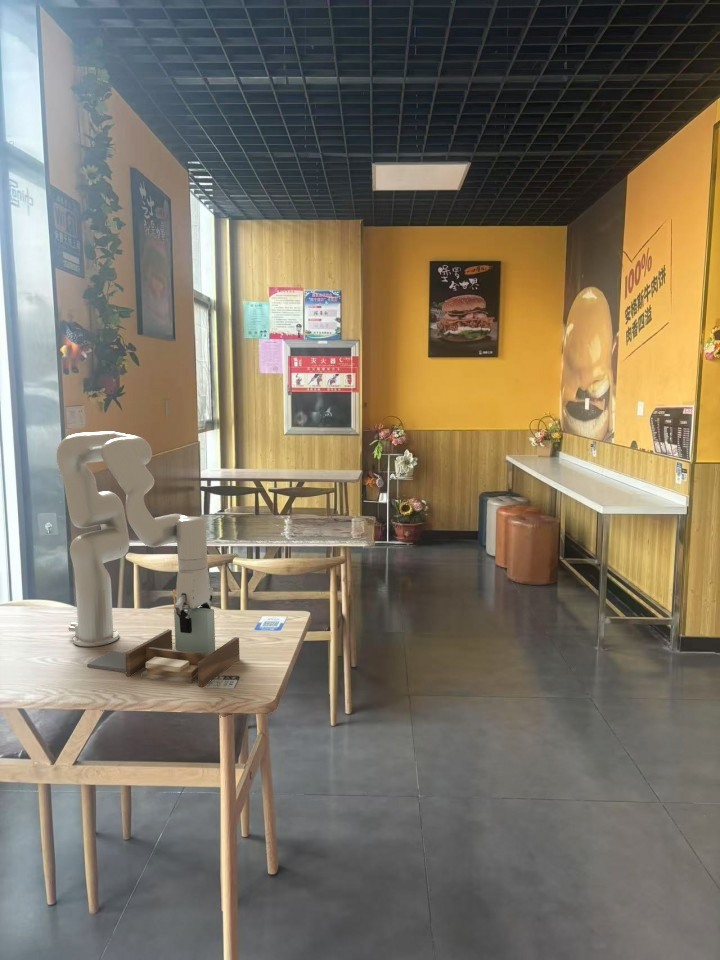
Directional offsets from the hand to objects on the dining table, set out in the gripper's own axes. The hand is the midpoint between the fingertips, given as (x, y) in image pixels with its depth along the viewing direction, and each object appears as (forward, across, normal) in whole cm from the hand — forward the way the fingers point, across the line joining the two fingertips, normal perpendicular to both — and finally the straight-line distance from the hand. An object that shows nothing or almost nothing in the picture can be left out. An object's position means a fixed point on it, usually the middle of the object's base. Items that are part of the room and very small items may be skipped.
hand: (196, 626), depth 191 cm
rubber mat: (+9, +8, -19) cm, 22 cm away
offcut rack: (+9, +5, -1) cm, 11 cm away
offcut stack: (+10, +12, -1) cm, 15 cm away
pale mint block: (+9, 0, -1) cm, 9 cm away
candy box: (+9, -10, -10) cm, 17 cm away
